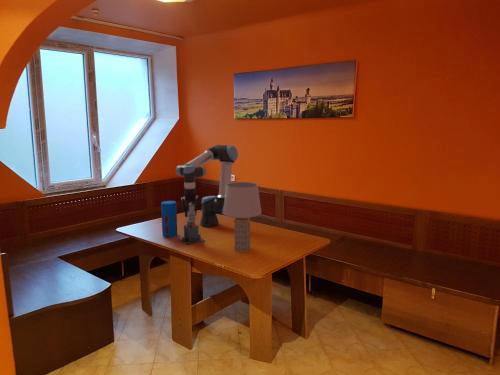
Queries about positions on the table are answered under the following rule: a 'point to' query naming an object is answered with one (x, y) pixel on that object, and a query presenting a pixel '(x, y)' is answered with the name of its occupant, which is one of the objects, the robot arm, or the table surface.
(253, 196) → the lamp
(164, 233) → the thermos
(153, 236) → the table surface
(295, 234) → the table surface
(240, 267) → the table surface
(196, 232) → the stand base
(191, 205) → the column
